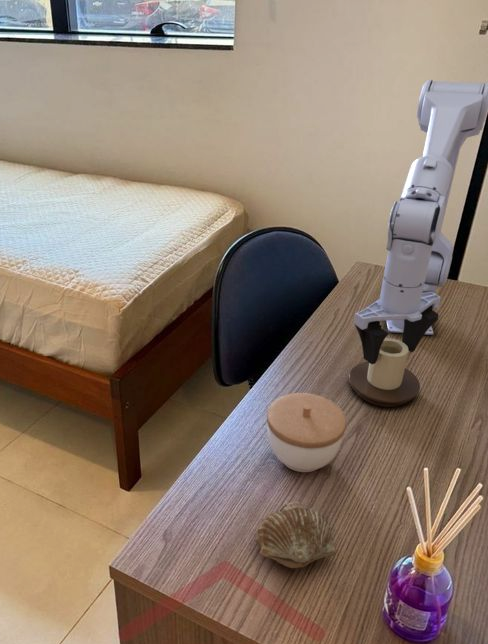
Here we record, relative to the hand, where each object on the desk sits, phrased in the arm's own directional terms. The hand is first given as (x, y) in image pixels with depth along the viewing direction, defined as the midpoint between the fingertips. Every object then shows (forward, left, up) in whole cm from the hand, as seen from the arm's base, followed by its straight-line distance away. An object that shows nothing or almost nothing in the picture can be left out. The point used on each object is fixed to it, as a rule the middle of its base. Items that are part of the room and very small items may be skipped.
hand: (388, 354), depth 95 cm
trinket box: (+18, -13, -7) cm, 23 cm away
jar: (0, 0, -5) cm, 5 cm away
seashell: (+35, -14, -7) cm, 38 cm away
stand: (0, 0, -7) cm, 7 cm away
